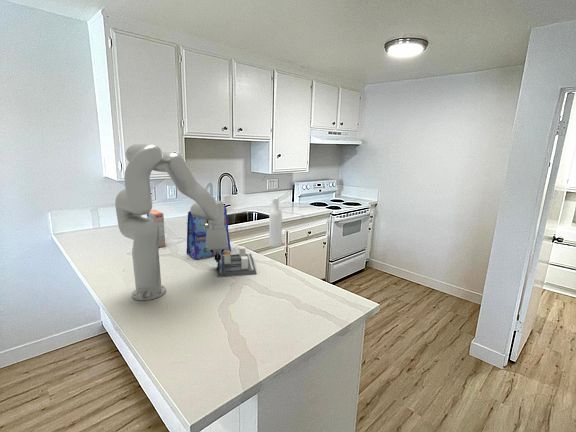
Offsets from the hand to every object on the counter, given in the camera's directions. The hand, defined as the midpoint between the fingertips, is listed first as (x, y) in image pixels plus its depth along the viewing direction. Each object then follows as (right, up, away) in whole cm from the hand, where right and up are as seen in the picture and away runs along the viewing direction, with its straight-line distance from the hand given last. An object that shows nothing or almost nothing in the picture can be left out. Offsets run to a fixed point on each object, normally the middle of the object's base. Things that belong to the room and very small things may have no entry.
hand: (217, 261), depth 152 cm
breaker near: (+14, -2, -5) cm, 15 cm away
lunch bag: (-10, +1, +22) cm, 24 cm away
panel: (+9, -3, +2) cm, 9 cm away
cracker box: (-46, +5, +36) cm, 58 cm away
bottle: (+27, +4, +37) cm, 47 cm away
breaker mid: (+5, -1, +1) cm, 5 cm away
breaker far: (+11, +1, +10) cm, 15 cm away
